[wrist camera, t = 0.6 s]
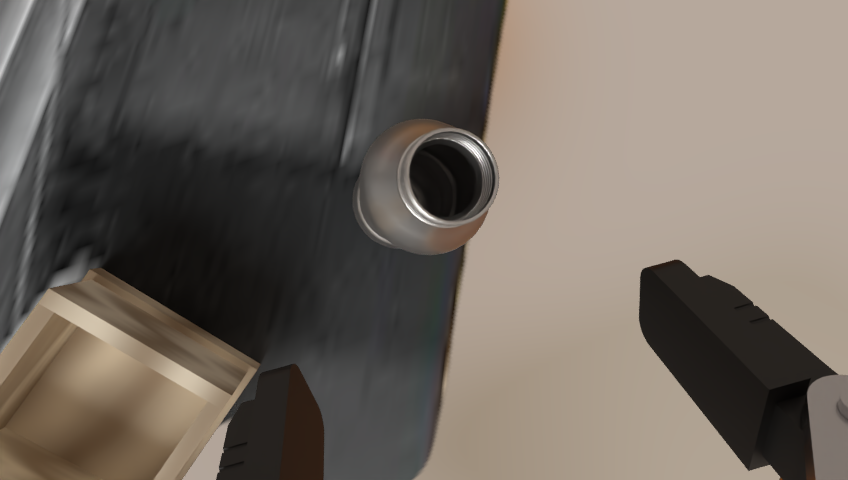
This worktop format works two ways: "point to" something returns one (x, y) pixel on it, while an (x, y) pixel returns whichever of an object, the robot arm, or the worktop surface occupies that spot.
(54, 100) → the worktop surface
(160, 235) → the worktop surface
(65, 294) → the wooden tray
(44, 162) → the worktop surface
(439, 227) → the silver bottle
